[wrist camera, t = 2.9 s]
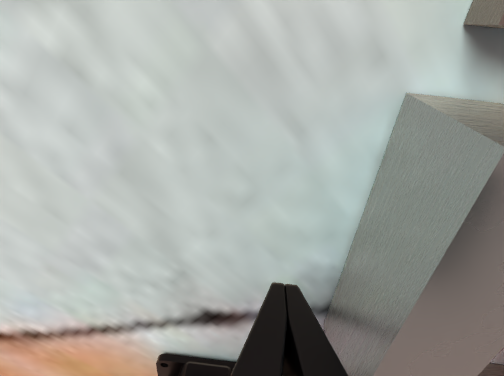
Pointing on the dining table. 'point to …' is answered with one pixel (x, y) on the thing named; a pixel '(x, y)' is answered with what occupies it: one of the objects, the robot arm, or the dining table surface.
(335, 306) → the block
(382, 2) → the dining table surface
